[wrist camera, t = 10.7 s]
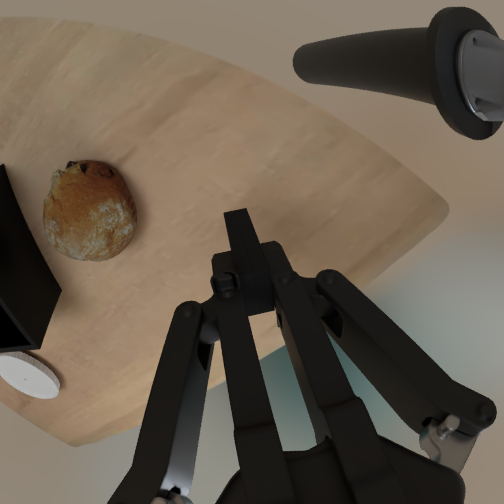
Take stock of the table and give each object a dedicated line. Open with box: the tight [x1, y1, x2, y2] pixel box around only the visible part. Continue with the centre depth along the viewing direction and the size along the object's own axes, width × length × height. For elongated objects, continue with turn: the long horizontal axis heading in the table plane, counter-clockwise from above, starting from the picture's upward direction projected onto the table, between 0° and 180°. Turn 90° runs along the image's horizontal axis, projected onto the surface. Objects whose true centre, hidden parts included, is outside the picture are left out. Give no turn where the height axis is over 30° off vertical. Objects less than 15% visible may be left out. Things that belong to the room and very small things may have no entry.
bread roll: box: [43, 160, 137, 261], centre depth 24 cm, size 10×10×8 cm
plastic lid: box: [0, 351, 60, 399], centre depth 37 cm, size 14×14×2 cm
